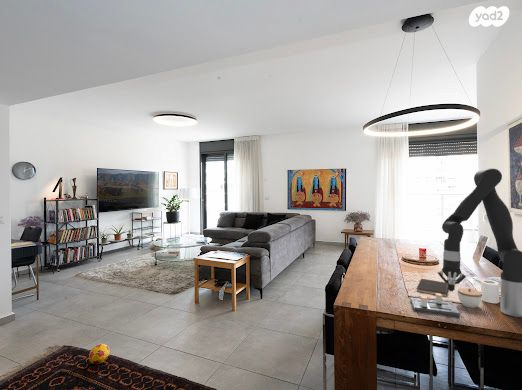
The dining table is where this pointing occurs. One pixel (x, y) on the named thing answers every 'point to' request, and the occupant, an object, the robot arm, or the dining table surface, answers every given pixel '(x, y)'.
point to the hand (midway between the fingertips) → (450, 290)
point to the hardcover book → (433, 287)
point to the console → (435, 307)
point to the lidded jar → (469, 297)
